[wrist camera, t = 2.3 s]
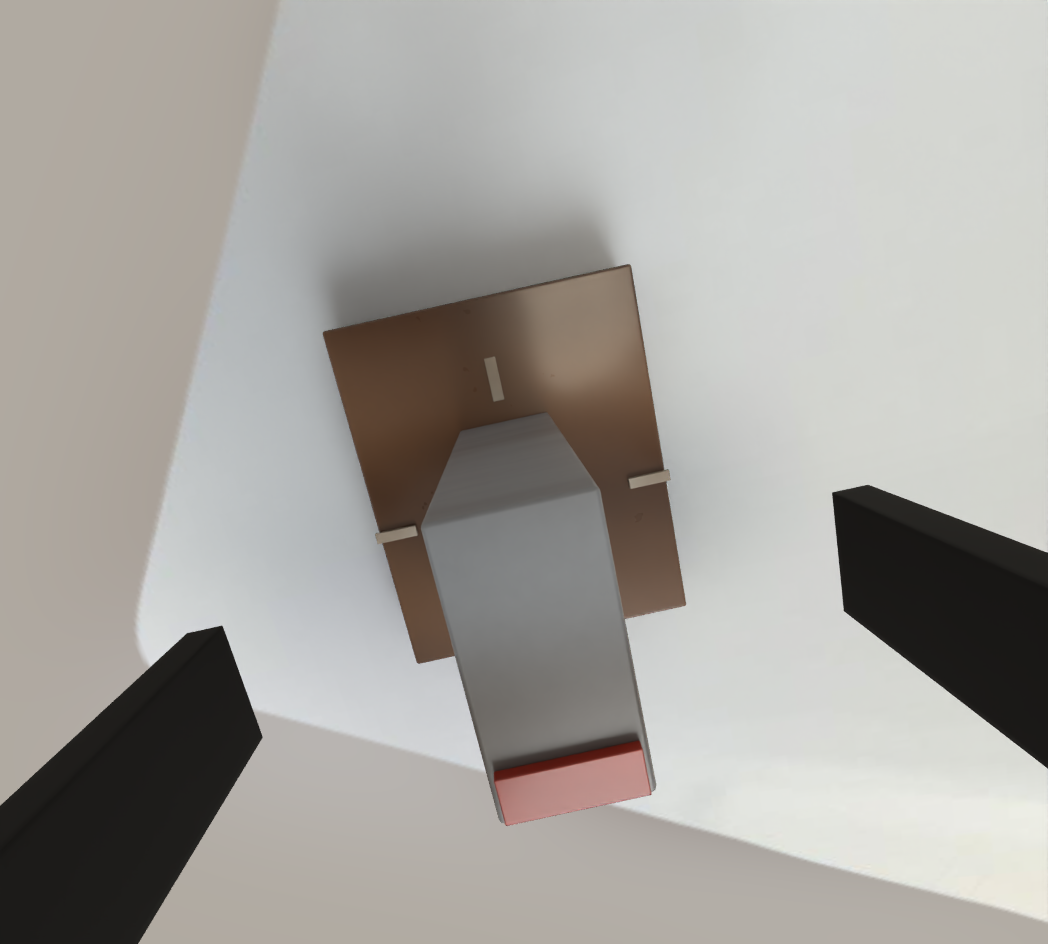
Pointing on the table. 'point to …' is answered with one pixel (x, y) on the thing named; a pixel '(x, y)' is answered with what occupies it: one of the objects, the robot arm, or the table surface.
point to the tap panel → (505, 394)
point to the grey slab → (537, 622)
